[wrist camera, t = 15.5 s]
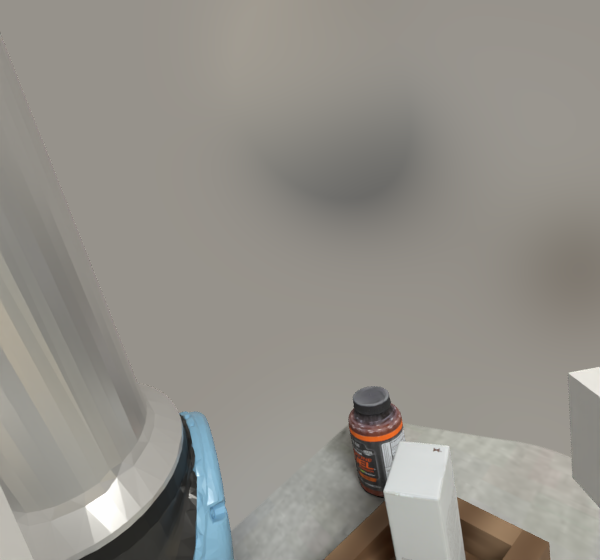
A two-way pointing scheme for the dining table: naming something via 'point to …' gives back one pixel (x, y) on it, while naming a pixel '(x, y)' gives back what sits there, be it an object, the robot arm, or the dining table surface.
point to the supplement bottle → (374, 436)
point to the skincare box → (423, 503)
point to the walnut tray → (475, 531)
